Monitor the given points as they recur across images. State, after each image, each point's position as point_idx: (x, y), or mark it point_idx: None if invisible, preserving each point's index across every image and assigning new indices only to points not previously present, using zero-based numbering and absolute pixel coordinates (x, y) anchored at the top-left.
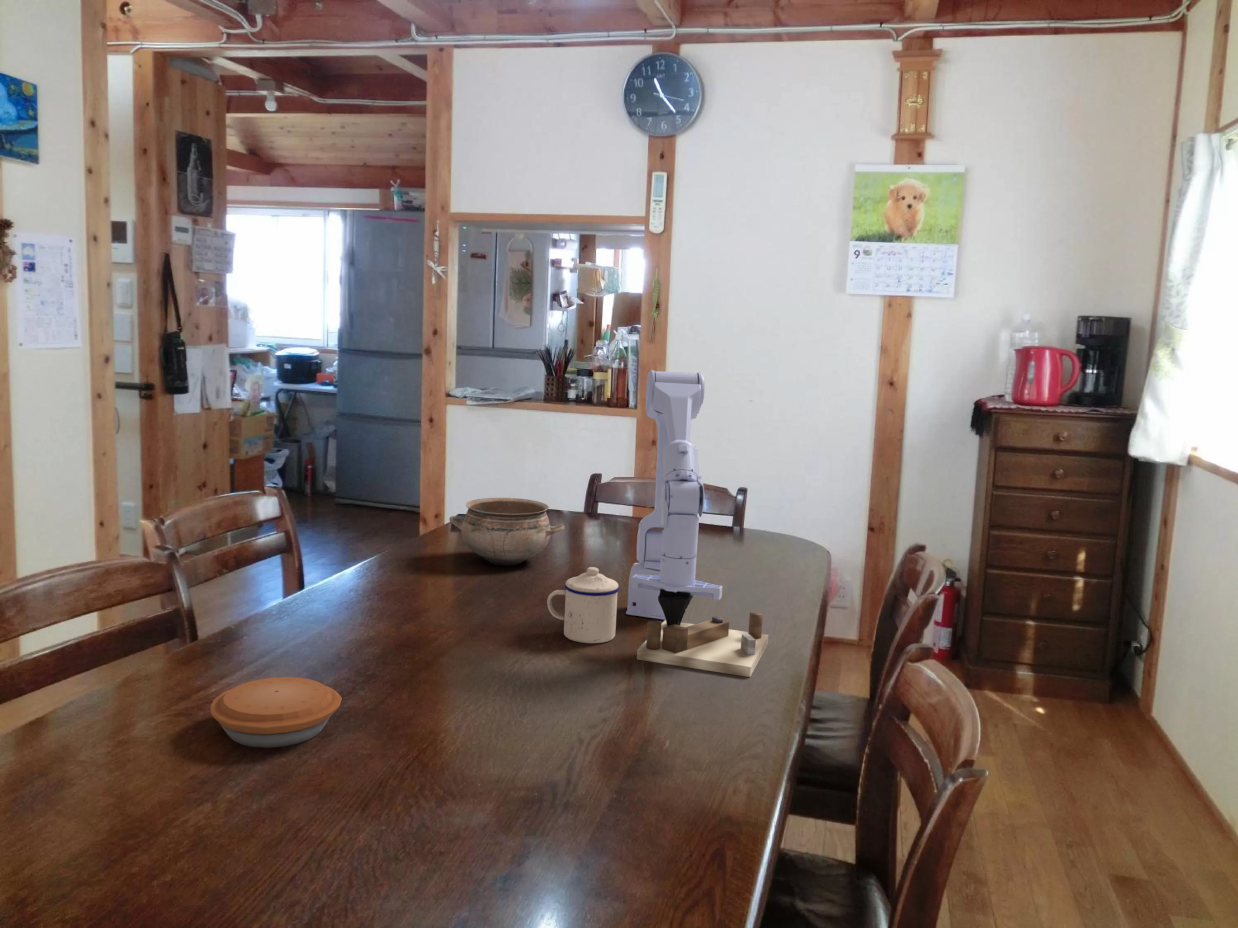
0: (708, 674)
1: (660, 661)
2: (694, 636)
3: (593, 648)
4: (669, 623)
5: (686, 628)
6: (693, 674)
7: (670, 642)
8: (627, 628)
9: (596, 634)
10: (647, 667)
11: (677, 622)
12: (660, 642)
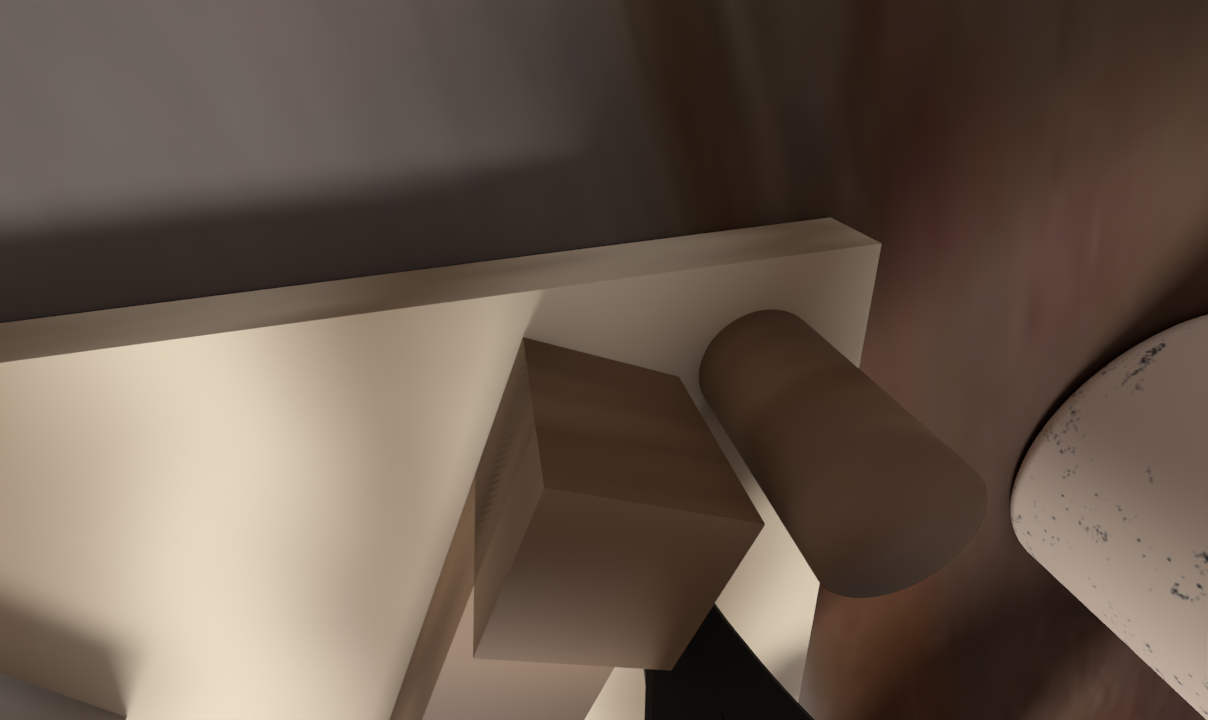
0: (98, 203)
1: (634, 248)
2: (445, 629)
3: (1146, 258)
4: (729, 663)
5: (491, 645)
6: (222, 116)
7: (608, 404)
8: (939, 628)
9: (1192, 377)
10: (703, 63)
11: (650, 706)
12: None
